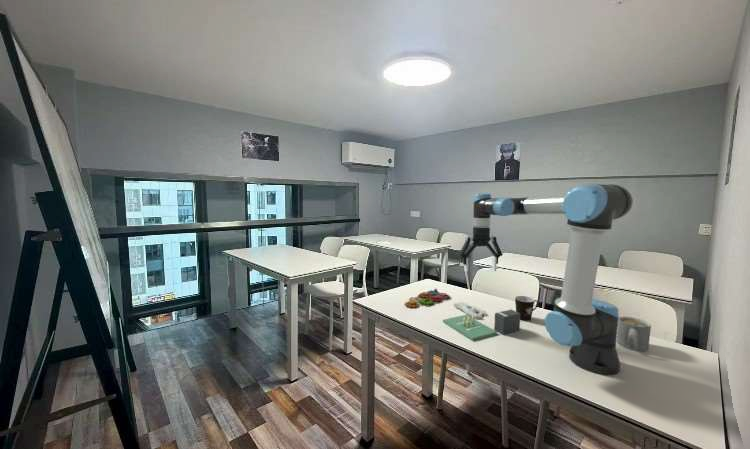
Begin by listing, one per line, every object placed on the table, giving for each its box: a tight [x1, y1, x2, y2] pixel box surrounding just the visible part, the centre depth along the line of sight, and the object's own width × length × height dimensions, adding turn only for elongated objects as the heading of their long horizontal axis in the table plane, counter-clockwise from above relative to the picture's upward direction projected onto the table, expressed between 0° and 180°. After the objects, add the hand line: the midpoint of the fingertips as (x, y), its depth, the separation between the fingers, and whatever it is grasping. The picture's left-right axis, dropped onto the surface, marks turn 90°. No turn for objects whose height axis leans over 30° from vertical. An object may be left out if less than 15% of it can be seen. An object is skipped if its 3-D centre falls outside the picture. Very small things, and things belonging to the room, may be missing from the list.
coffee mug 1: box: [514, 295, 540, 322], centre depth 148 cm, size 12×9×10 cm
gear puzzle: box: [404, 288, 452, 309], centre depth 173 cm, size 31×16×4 cm, turn 129°
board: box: [442, 314, 498, 342], centre depth 138 cm, size 20×14×5 cm
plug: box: [493, 309, 521, 336], centre depth 135 cm, size 5×10×8 cm, turn 114°
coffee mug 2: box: [616, 316, 652, 353], centre depth 121 cm, size 13×10×10 cm
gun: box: [453, 301, 487, 320], centre depth 156 cm, size 18×3×10 cm
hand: (480, 270), depth 144 cm, fingers open, 13 cm apart
